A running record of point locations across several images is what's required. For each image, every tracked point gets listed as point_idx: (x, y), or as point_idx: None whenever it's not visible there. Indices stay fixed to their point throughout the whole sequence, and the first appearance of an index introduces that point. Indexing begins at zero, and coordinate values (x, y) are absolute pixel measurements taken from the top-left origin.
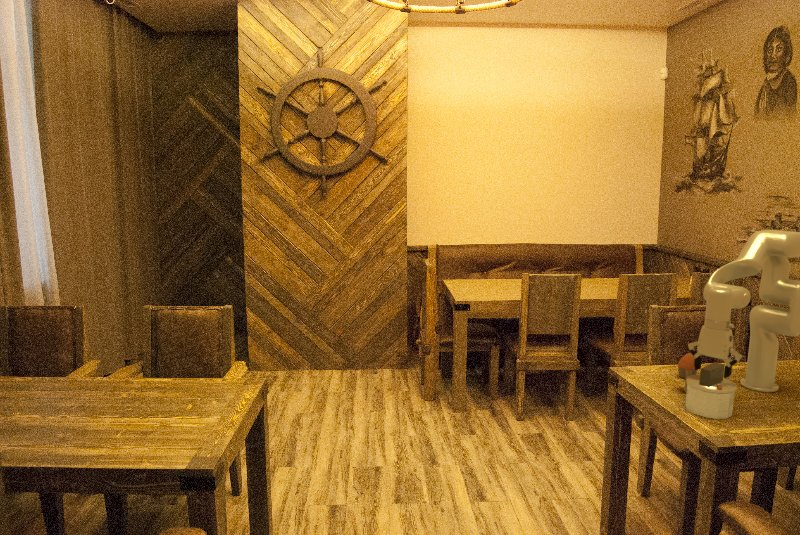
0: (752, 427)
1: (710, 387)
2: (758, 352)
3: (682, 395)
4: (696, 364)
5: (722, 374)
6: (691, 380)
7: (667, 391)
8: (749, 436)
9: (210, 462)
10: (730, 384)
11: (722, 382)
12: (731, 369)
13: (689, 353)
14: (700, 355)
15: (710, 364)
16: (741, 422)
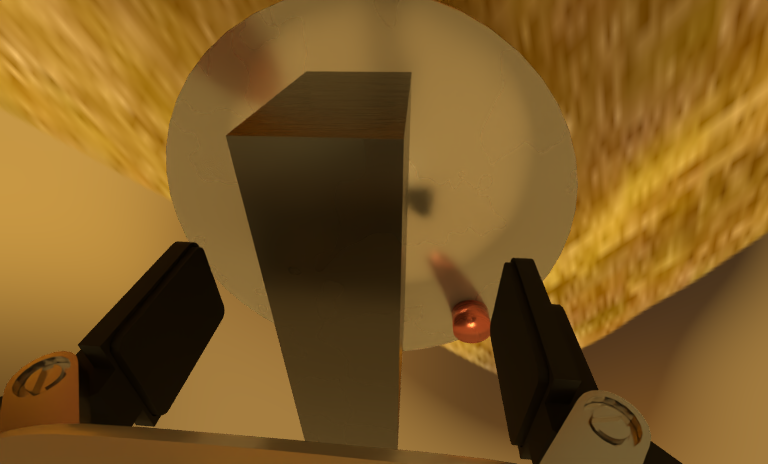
0: (627, 181)
1: (414, 323)
2: None
3: (160, 5)
4: (189, 364)
5: (408, 125)
6: (258, 288)
7: (70, 16)
8: (617, 278)
9: None
10: (514, 155)
11: (437, 158)
12: (580, 362)
13: None
14: (82, 404)
15: (273, 294)
16: None
